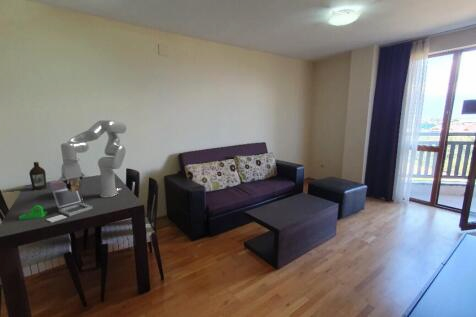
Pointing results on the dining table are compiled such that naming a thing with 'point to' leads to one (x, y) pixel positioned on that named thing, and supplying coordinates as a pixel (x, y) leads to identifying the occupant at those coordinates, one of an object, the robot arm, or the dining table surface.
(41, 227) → the dining table surface
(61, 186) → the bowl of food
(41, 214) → the mechanical part
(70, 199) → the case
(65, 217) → the mat
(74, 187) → the block
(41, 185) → the olive oil
